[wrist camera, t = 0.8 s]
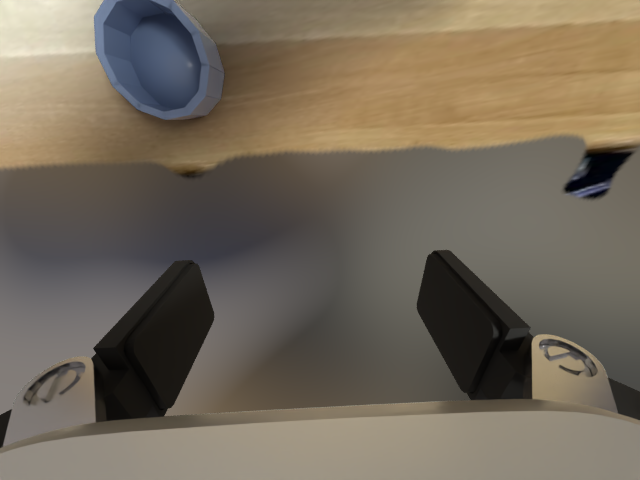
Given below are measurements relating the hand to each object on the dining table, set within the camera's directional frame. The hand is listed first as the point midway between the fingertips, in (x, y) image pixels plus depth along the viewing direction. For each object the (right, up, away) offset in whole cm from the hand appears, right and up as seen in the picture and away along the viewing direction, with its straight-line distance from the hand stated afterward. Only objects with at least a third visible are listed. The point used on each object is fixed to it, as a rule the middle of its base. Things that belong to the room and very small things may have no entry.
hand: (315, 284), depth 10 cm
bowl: (-17, +23, +19) cm, 35 cm away
